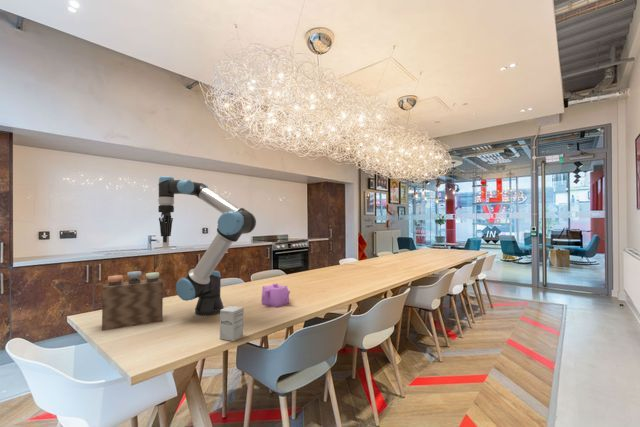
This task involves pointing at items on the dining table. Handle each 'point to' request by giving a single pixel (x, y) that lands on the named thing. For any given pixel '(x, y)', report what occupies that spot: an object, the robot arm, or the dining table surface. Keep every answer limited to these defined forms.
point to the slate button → (134, 275)
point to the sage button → (152, 275)
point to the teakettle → (275, 295)
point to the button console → (132, 303)
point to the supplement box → (231, 323)
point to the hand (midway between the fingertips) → (165, 248)
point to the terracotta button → (115, 278)
